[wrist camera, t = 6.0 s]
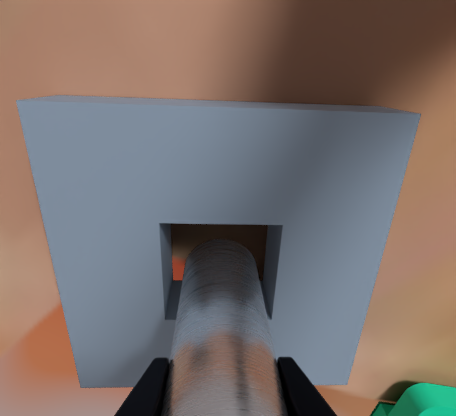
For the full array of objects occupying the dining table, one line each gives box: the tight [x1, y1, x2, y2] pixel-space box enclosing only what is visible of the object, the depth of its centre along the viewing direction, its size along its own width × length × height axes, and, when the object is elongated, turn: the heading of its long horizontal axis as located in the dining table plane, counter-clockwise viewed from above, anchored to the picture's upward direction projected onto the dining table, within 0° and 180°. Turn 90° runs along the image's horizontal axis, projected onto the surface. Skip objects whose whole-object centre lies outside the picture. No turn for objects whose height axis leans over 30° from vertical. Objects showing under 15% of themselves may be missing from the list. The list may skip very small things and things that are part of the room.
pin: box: [161, 238, 288, 416], centre depth 9 cm, size 3×3×10 cm
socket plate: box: [16, 95, 421, 388], centre depth 15 cm, size 14×14×3 cm
